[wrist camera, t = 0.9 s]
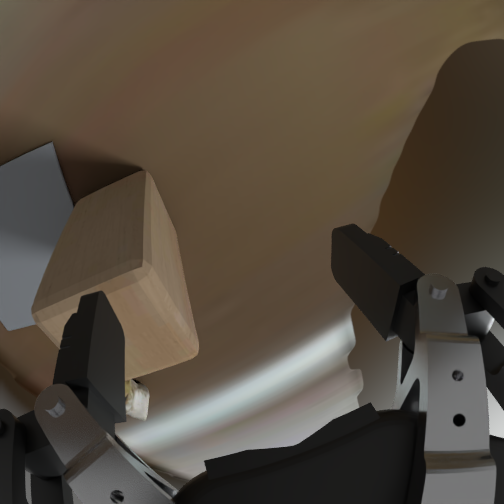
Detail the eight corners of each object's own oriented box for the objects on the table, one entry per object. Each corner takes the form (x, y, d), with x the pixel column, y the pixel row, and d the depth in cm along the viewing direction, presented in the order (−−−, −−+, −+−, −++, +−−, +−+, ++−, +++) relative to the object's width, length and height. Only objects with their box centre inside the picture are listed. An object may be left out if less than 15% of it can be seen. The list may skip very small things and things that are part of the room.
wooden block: (110, 262, 38) (101, 392, 22) (74, 199, 32) (22, 316, 16) (178, 234, 38) (205, 359, 23) (148, 165, 33) (145, 262, 17)
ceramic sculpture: (126, 435, 47) (65, 400, 38) (124, 400, 54) (71, 362, 46) (168, 419, 47) (107, 380, 38) (163, 382, 54) (110, 340, 46)
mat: (-63, 204, 23) (-64, 205, 23) (52, 141, 27) (51, 142, 27) (8, 329, 37) (8, 331, 37) (116, 300, 41) (116, 302, 41)
